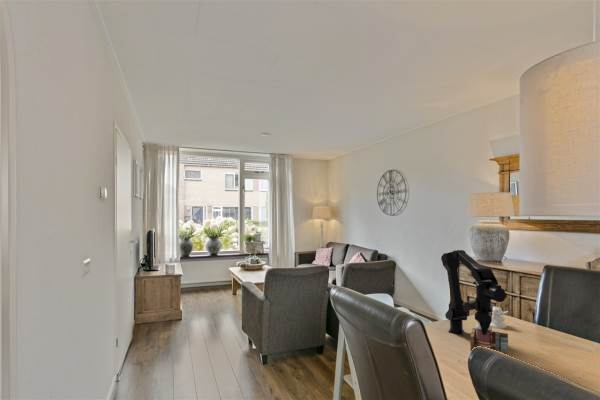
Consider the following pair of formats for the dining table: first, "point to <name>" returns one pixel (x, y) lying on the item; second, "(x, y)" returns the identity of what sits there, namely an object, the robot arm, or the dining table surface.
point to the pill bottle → (484, 337)
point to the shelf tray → (498, 341)
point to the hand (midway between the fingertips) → (484, 331)
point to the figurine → (497, 318)
